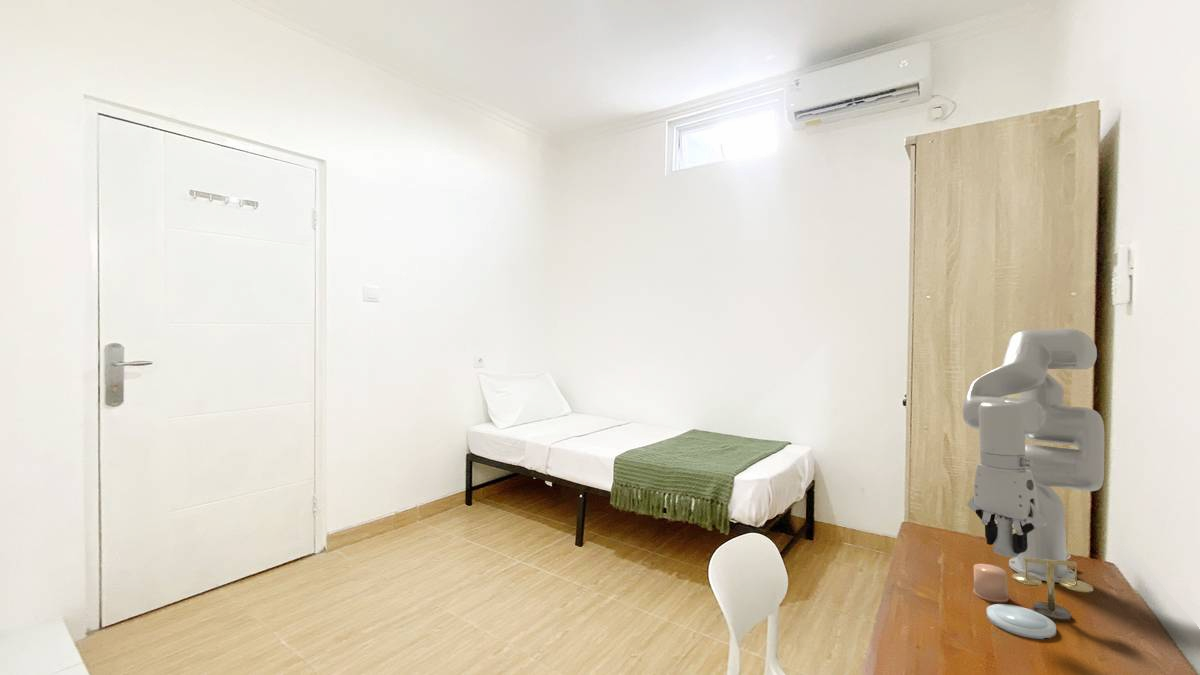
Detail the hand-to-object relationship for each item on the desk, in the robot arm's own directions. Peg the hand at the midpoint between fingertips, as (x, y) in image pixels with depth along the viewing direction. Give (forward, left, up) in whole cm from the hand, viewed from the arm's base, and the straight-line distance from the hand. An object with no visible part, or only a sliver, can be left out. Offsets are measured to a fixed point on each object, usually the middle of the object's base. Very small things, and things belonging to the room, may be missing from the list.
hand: (1006, 546), depth 106 cm
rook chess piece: (0, 0, -2) cm, 2 cm away
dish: (0, +2, -15) cm, 15 cm away
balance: (-10, +3, -15) cm, 19 cm away
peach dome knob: (-8, -7, -15) cm, 19 cm away
